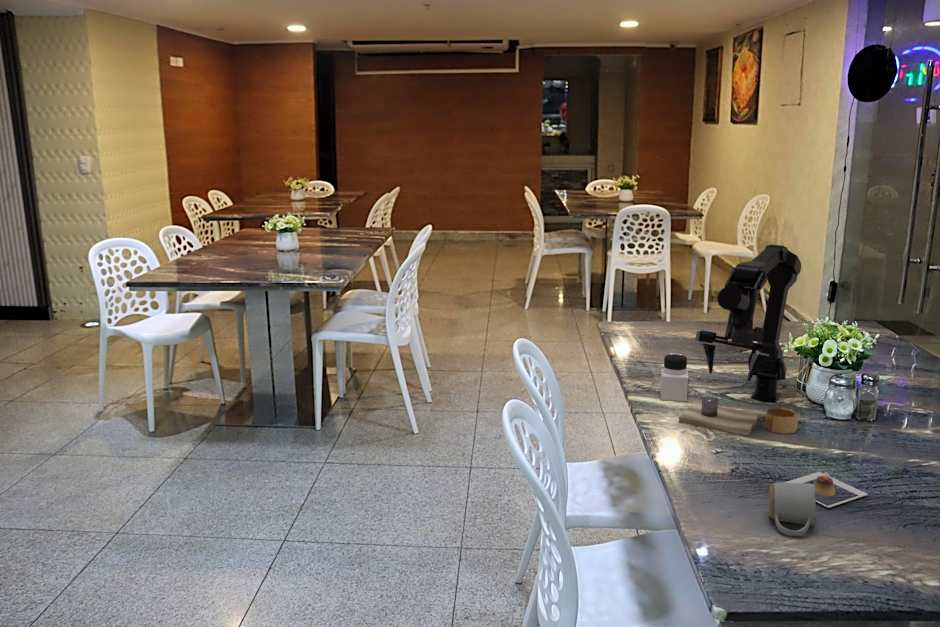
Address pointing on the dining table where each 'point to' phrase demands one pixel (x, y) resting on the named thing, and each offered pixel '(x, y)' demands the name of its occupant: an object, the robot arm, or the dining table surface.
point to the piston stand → (720, 419)
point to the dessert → (827, 486)
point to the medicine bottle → (674, 378)
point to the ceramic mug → (792, 505)
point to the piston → (709, 406)
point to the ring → (781, 420)
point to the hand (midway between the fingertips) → (729, 377)
